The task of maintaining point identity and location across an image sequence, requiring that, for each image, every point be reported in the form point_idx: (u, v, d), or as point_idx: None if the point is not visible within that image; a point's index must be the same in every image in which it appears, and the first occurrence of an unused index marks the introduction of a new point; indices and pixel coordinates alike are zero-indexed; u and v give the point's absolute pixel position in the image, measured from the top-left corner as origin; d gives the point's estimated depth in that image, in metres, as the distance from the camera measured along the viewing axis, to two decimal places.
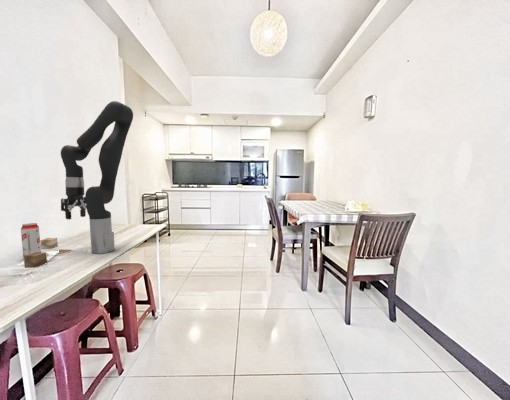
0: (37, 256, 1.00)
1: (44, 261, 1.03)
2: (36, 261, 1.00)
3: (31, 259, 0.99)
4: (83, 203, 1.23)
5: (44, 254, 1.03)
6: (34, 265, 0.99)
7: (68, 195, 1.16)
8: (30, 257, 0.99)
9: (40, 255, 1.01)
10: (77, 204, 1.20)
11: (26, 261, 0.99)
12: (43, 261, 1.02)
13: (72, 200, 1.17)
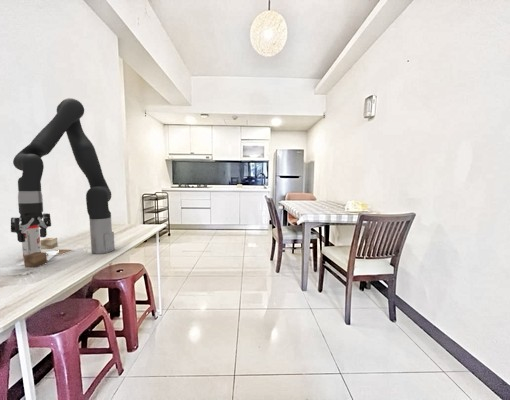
0: (37, 256, 1.00)
1: (44, 261, 1.03)
2: (36, 261, 1.00)
3: (31, 259, 0.99)
4: (42, 221, 1.03)
5: (44, 254, 1.03)
6: (34, 265, 0.99)
7: (21, 213, 0.97)
8: (30, 257, 0.99)
9: (40, 255, 1.01)
10: (34, 223, 1.01)
11: (26, 261, 0.99)
12: (43, 261, 1.02)
13: (26, 219, 0.97)
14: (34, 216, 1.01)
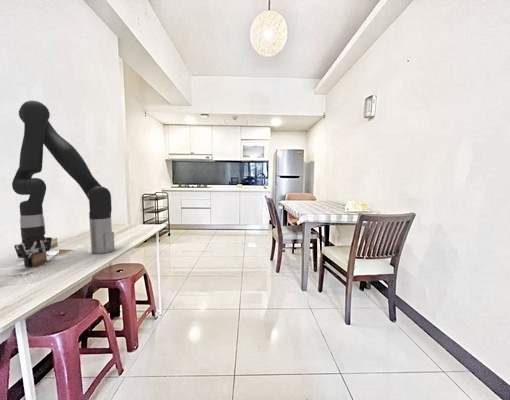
0: (37, 256, 1.00)
1: (44, 261, 1.03)
2: (36, 260, 1.00)
3: None
4: (43, 245, 1.03)
5: (44, 254, 1.03)
6: (34, 265, 0.99)
7: (23, 237, 0.97)
8: None
9: (40, 255, 1.01)
10: (36, 246, 1.01)
11: None
12: (43, 260, 1.02)
13: (29, 243, 0.98)
14: (36, 239, 1.01)
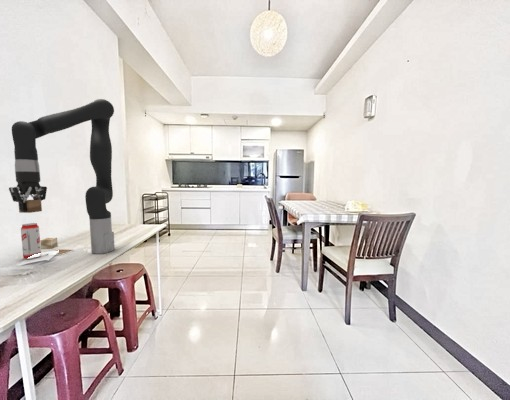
0: (32, 201, 1.00)
1: (39, 208, 1.03)
2: (31, 206, 0.99)
3: None
4: (38, 192, 1.03)
5: (39, 201, 1.03)
6: (29, 210, 0.99)
7: (18, 181, 0.97)
8: None
9: (35, 201, 1.01)
10: (31, 192, 1.01)
11: None
12: (38, 207, 1.02)
13: (24, 187, 0.98)
14: (31, 185, 1.01)
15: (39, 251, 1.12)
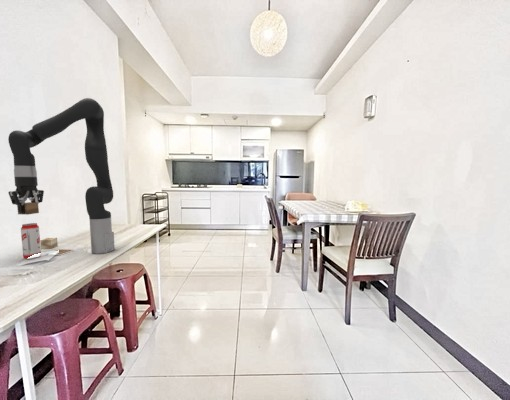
0: (29, 204, 1.08)
1: (36, 210, 1.11)
2: (29, 208, 1.08)
3: None
4: (36, 196, 1.12)
5: (36, 204, 1.11)
6: (26, 212, 1.07)
7: (17, 186, 1.05)
8: None
9: (32, 204, 1.10)
10: (29, 196, 1.09)
11: None
12: (35, 209, 1.11)
13: (22, 191, 1.06)
14: (29, 189, 1.09)
15: (39, 251, 1.12)
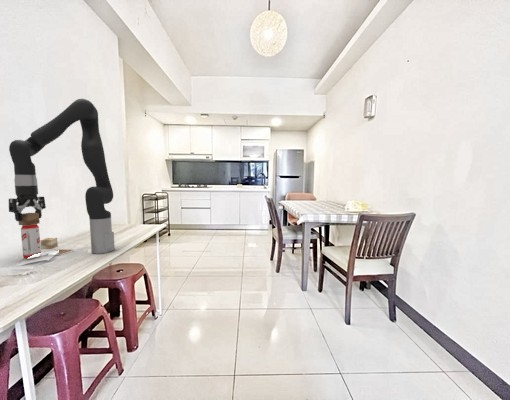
0: (30, 215, 1.09)
1: (37, 220, 1.12)
2: (29, 219, 1.08)
3: (25, 217, 1.08)
4: (37, 203, 1.13)
5: (37, 214, 1.12)
6: (27, 223, 1.08)
7: (18, 195, 1.06)
8: (23, 215, 1.08)
9: (33, 214, 1.10)
10: (30, 204, 1.10)
11: None
12: (36, 220, 1.11)
13: (23, 200, 1.07)
14: (30, 198, 1.10)
15: (39, 251, 1.12)
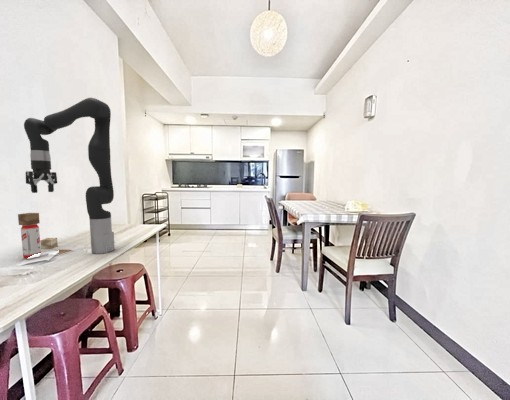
0: (30, 215, 1.09)
1: (37, 220, 1.12)
2: (29, 219, 1.08)
3: (25, 217, 1.08)
4: (50, 178, 1.23)
5: (37, 214, 1.12)
6: (27, 223, 1.08)
7: (33, 168, 1.16)
8: (23, 215, 1.08)
9: (33, 214, 1.10)
10: (44, 178, 1.20)
11: (19, 219, 1.08)
12: (36, 220, 1.11)
13: (38, 173, 1.17)
14: (44, 172, 1.20)
15: (39, 251, 1.12)
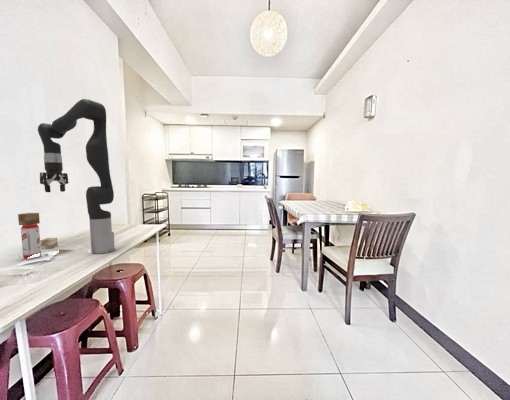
0: (30, 215, 1.09)
1: (37, 220, 1.12)
2: (30, 219, 1.08)
3: (25, 217, 1.08)
4: (62, 178, 1.32)
5: (37, 214, 1.12)
6: (27, 223, 1.08)
7: (47, 170, 1.25)
8: (24, 215, 1.08)
9: (33, 214, 1.10)
10: (56, 179, 1.29)
11: (20, 219, 1.08)
12: (36, 220, 1.11)
13: (51, 174, 1.26)
14: (56, 173, 1.29)
15: (39, 251, 1.12)
